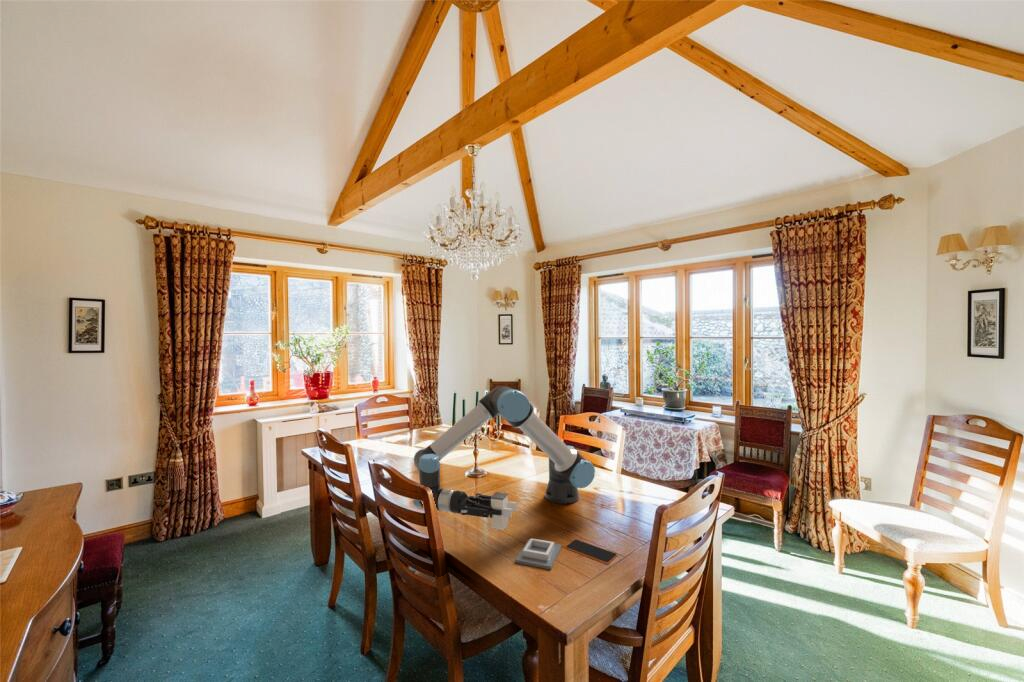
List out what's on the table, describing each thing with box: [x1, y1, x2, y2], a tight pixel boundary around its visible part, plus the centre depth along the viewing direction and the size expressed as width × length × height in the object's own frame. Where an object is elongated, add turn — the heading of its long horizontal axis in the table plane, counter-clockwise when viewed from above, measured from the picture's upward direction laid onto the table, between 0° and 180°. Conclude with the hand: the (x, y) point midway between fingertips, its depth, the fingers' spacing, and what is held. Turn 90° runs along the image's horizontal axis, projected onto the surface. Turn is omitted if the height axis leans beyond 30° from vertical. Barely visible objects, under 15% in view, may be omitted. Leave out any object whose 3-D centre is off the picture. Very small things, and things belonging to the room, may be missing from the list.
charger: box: [490, 491, 509, 531], centre depth 145 cm, size 4×4×11 cm
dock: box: [514, 537, 562, 570], centre depth 140 cm, size 14×12×3 cm
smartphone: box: [564, 538, 619, 565], centre depth 142 cm, size 8×17×1 cm, turn 50°
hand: (513, 509), depth 143 cm, fingers closed on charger, 4 cm apart
